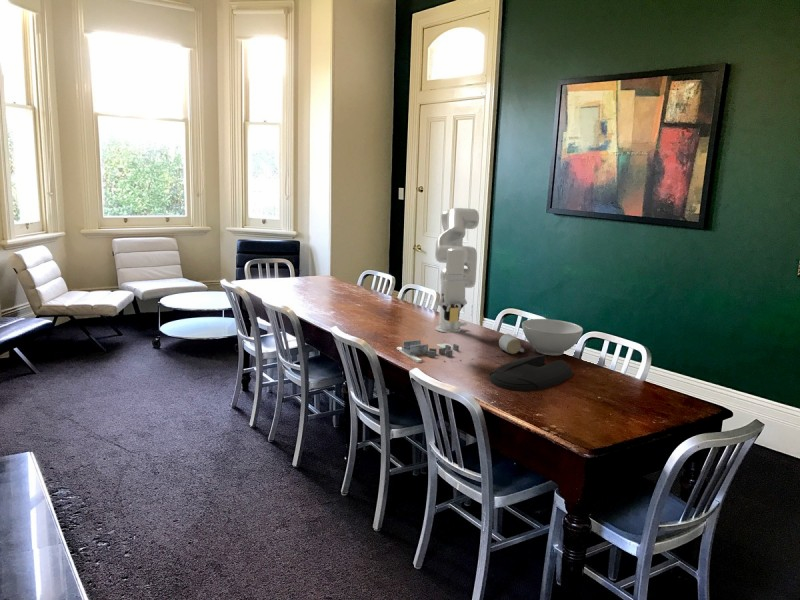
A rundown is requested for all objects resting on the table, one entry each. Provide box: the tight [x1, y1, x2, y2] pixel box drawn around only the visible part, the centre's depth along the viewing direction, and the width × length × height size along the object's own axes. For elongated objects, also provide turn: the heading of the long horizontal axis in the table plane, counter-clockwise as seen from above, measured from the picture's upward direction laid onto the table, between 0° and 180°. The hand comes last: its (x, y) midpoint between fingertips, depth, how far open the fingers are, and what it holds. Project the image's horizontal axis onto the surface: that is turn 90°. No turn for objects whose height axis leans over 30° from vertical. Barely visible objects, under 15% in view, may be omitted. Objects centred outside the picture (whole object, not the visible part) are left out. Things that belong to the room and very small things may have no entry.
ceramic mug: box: [498, 333, 525, 355], centre depth 274 cm, size 11×8×8 cm
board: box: [396, 343, 460, 364], centre depth 267 cm, size 25×20×4 cm
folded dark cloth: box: [489, 355, 574, 392], centre depth 242 cm, size 25×40×5 cm, turn 139°
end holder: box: [401, 339, 429, 356], centre depth 264 cm, size 8×8×4 cm
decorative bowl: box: [521, 318, 584, 356], centre depth 277 cm, size 27×27×12 cm
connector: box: [446, 304, 460, 322], centre depth 262 cm, size 4×4×8 cm
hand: (451, 319), depth 263 cm, fingers closed on connector, 4 cm apart
